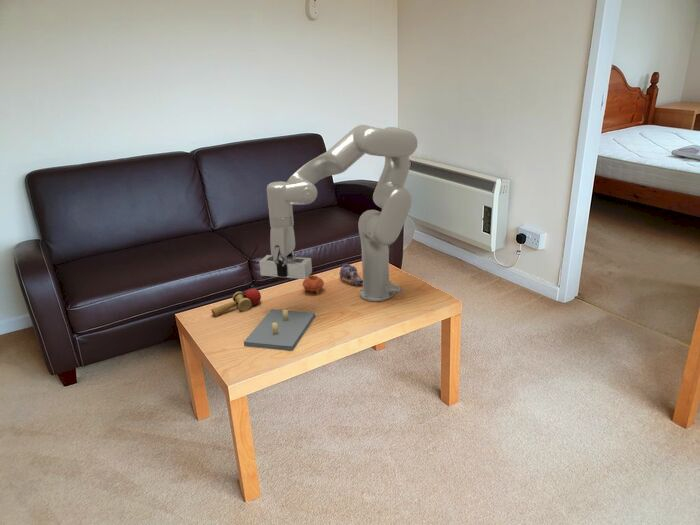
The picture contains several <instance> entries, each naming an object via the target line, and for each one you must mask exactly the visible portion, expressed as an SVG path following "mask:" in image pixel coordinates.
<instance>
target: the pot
mask: <svg viewBox="0 0 700 525" xmlns="http://www.w3.org/2000/svg"><path fill="white" fill-rule="evenodd" d="M324 284H325V282H324V280H323V279H322V278H321V277H319V276H317V275H313V274H310V275H309V276H308V277H307V278H306V279H303V281H302V286H303V289H304V291H305V293H306V292H308V291H310V292H315V294H317V295H318V294H319V292H320V289H322V288H323V287H324Z"/></svg>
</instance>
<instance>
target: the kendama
mask: <svg viewBox="0 0 700 525" xmlns="http://www.w3.org/2000/svg"><path fill="white" fill-rule="evenodd" d="M261 298H262V295H261V293H260V291H259V290H258V289H256V288H249V289H247V290H246V291H245V293H244V292H242V291H236V292H234V294H233V295H232V301H231V302H227V303H225V304H223V305H220V306H216V307H213V308H211V313H212V315H213V317H215V318H216V317H218V316H219V315H221V314H223V313H226V312H228V311H230V310H231V309H233V308H234V307H236V306H237V307H238V310H240V311H242V312H245V311H249V310H250V309H251V307H252V306H255V305H258V304H259V303H260V301H261Z"/></svg>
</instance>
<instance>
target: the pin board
mask: <svg viewBox="0 0 700 525" xmlns="http://www.w3.org/2000/svg"><path fill="white" fill-rule="evenodd" d="M315 318H316V313H315V312H311V311H310V312H309V311H302V310H301V311H300V310H299V311H298V310H288V309H276V308H275V309H272V308H271V309H270V310H269V311H268V312H267V314H266V315H265V316H264V317H263V318H262V320H261V321H260V322H258V324H257V326H255V328H254V329H253V330H251V332H250V333H249V335H248V336H246V339H245V340H244V341H243V345H244V347H250V348H251V347H252V348H263V349H271V350H283V351H291V352H292V351H294V349H295V348H296V346H297V345H298V344H299V342H300V340H301V339H302V337H303V336H304V335H305V333H306V331H307V330H308V329H309V327H310V325H311V324H312V322H313V320H315Z"/></svg>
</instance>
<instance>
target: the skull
mask: <svg viewBox="0 0 700 525" xmlns="http://www.w3.org/2000/svg"><path fill="white" fill-rule="evenodd" d="M338 275H339V278H340V280H344V281H345V282H346V283H348V284H349V285H353V286H356V287H357V286H358V285H362V286H363V278H361V276H360V275H359V273H358V269H357V268H356V266H354V265H350V264H348V263H345V264H343V265H342V266H341V267H340V271H339V274H338Z"/></svg>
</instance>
